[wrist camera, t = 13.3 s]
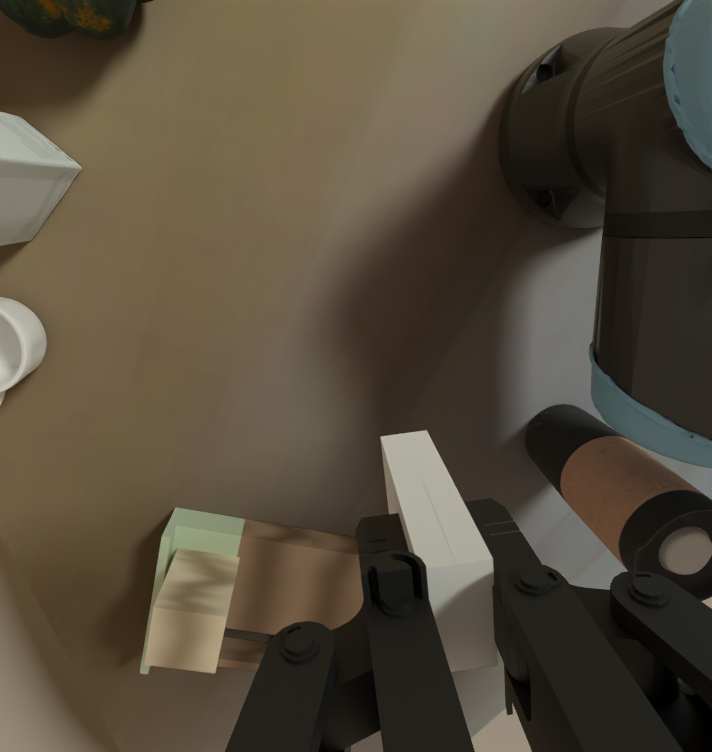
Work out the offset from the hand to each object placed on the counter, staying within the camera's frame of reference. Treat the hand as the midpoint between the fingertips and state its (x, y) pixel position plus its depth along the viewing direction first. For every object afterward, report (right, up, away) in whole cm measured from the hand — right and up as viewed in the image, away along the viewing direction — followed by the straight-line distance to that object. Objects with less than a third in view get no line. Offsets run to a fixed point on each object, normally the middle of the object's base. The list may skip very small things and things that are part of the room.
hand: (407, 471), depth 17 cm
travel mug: (+19, -3, +37) cm, 41 cm away
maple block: (-17, -17, +35) cm, 42 cm away
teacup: (-32, +6, +30) cm, 44 cm away
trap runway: (-5, -21, +40) cm, 46 cm away
